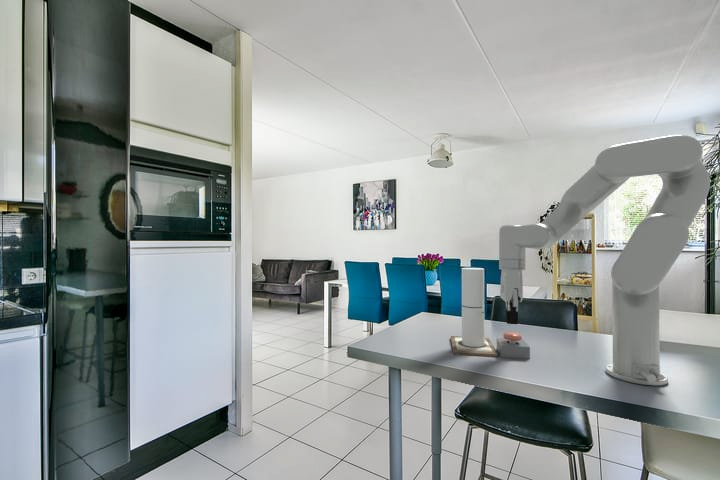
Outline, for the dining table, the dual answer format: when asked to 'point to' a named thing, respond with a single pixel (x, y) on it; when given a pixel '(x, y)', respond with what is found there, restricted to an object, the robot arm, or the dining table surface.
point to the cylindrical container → (473, 307)
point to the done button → (512, 337)
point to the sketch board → (473, 348)
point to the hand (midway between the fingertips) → (511, 323)
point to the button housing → (513, 349)
